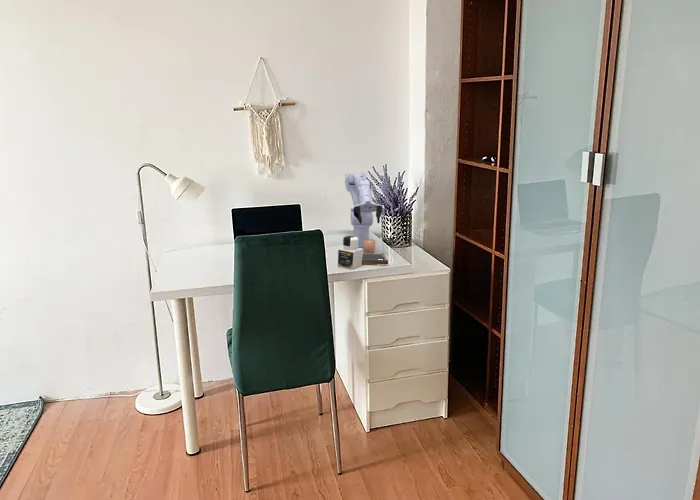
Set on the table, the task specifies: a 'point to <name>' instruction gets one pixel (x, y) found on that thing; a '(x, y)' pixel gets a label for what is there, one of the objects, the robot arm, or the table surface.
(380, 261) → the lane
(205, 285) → the table surface
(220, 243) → the table surface
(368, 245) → the terracotta jar
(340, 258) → the medicine bottle
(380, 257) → the plate
